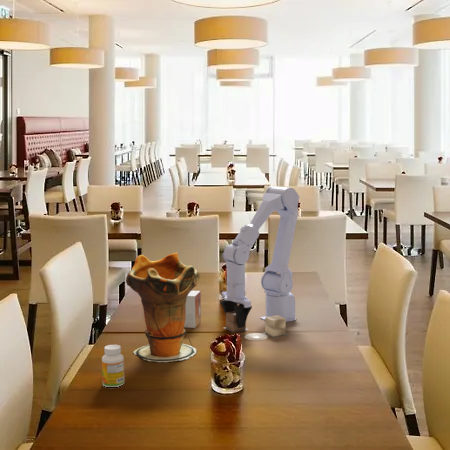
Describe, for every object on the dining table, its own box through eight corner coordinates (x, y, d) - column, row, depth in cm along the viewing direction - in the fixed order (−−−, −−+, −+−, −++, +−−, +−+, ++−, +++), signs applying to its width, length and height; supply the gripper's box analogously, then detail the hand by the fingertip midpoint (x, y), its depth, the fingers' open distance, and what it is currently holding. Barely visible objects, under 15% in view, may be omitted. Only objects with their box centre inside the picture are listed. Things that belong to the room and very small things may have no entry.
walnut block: (238, 325, 223) (238, 310, 222) (245, 329, 219) (245, 313, 218) (226, 327, 220) (226, 312, 220) (233, 331, 216) (233, 315, 216)
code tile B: (277, 330, 218) (277, 329, 218) (288, 335, 213) (288, 334, 213) (261, 333, 215) (261, 332, 215) (272, 338, 210) (272, 337, 210)
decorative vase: (146, 370, 181) (143, 264, 179) (118, 350, 202) (114, 254, 199) (218, 358, 191) (215, 257, 188) (183, 340, 211) (181, 248, 209)
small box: (195, 328, 220) (195, 296, 219) (178, 327, 221) (178, 295, 220) (201, 321, 228) (201, 290, 227) (184, 320, 229) (184, 289, 228)
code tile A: (238, 325, 224) (238, 324, 224) (248, 330, 219) (248, 329, 219) (222, 328, 221) (222, 327, 221) (232, 332, 216) (232, 332, 215)
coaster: (259, 333, 215) (259, 331, 215) (272, 339, 209) (272, 337, 209) (240, 336, 212) (240, 335, 212) (252, 342, 206) (252, 341, 206)
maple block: (277, 330, 217) (277, 315, 216) (285, 334, 213) (285, 318, 212) (265, 332, 215) (265, 317, 214) (273, 336, 211) (273, 320, 210)
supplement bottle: (103, 381, 175) (102, 343, 174) (125, 380, 175) (124, 343, 174) (101, 389, 170) (100, 350, 168) (123, 388, 170) (122, 350, 169)
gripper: (213, 279, 222) (213, 321, 224) (237, 288, 209) (237, 332, 211) (232, 277, 225) (232, 318, 227) (256, 286, 213) (256, 329, 215)
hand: (235, 324), depth 219 cm, fingers open, 6 cm apart
